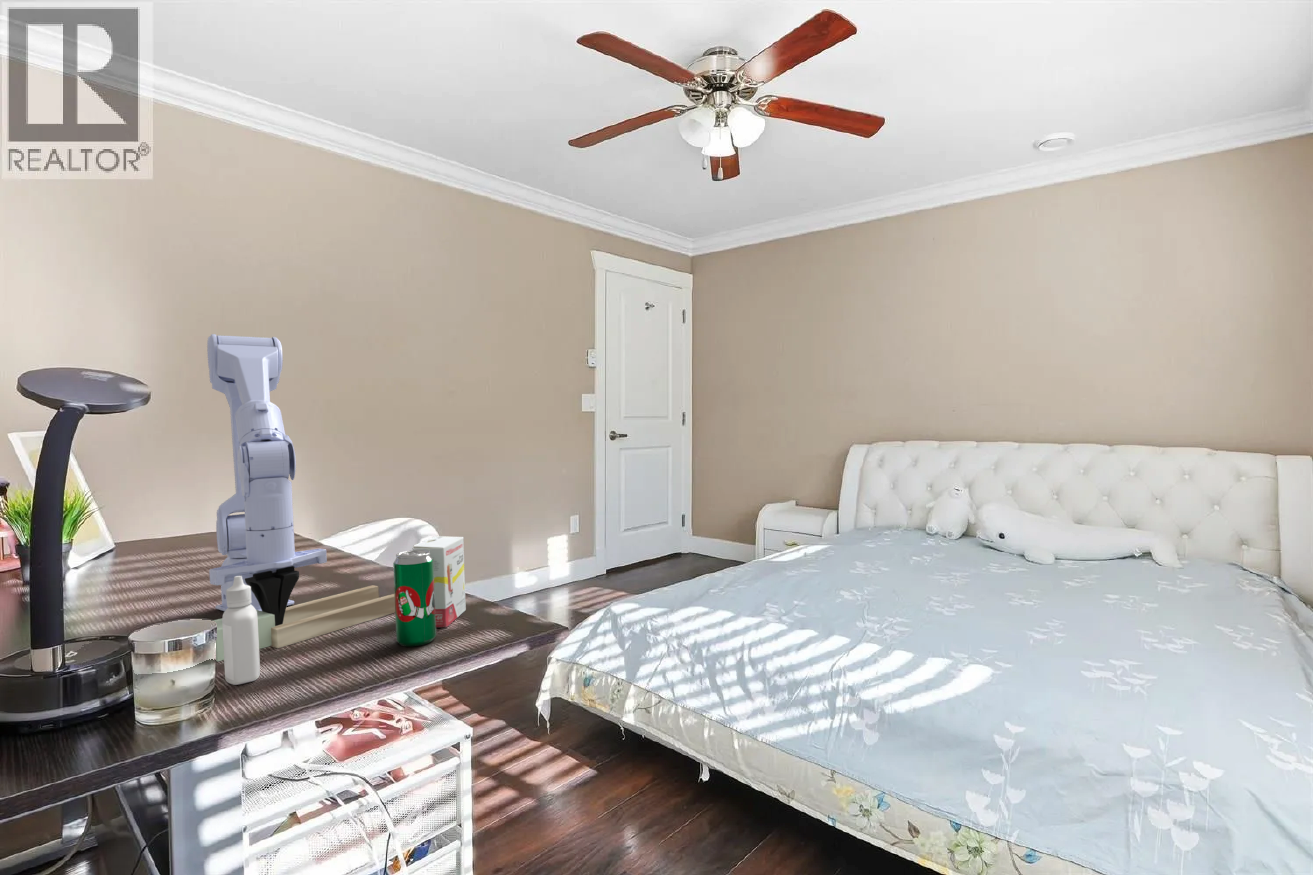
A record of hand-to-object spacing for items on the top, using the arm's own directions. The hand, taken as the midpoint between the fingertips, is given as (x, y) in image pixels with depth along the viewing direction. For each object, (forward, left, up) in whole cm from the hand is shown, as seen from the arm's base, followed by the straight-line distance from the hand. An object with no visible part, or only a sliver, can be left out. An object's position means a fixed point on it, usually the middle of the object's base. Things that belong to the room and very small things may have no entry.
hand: (274, 624), depth 89 cm
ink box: (+14, +17, -2) cm, 22 cm away
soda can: (+19, +9, -2) cm, 21 cm away
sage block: (0, -5, -2) cm, 5 cm away
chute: (0, +8, -2) cm, 8 cm away
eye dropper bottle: (+11, -9, -2) cm, 14 cm away
